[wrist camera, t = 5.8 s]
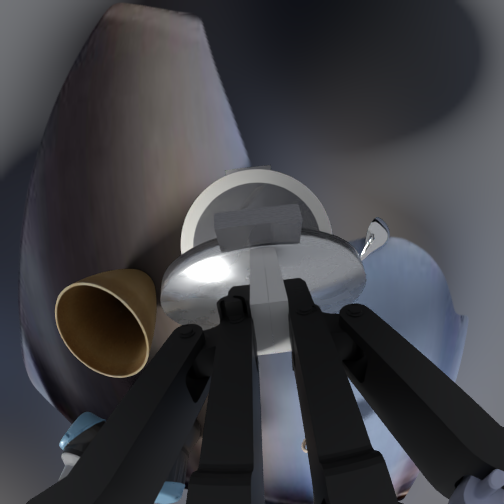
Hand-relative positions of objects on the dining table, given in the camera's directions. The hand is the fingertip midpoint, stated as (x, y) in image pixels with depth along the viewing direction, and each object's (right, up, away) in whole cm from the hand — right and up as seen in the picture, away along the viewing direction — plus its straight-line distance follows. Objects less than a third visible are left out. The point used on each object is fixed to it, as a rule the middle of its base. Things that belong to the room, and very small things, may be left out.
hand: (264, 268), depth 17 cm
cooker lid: (0, -2, +8) cm, 8 cm away
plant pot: (-21, -6, +28) cm, 36 cm away
